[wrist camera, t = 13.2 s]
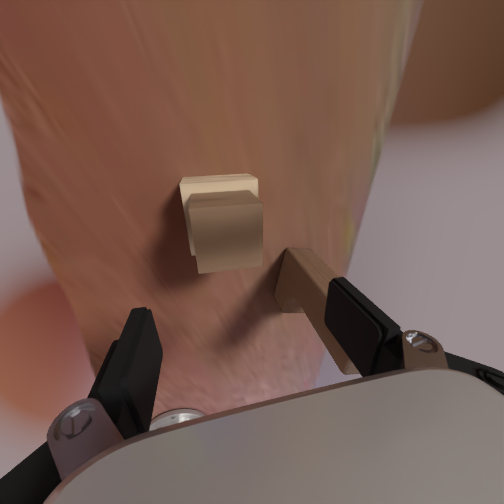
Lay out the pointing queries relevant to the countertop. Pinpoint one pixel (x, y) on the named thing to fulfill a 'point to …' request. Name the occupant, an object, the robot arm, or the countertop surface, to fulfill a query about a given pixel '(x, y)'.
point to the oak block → (213, 185)
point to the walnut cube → (226, 230)
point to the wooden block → (310, 297)
